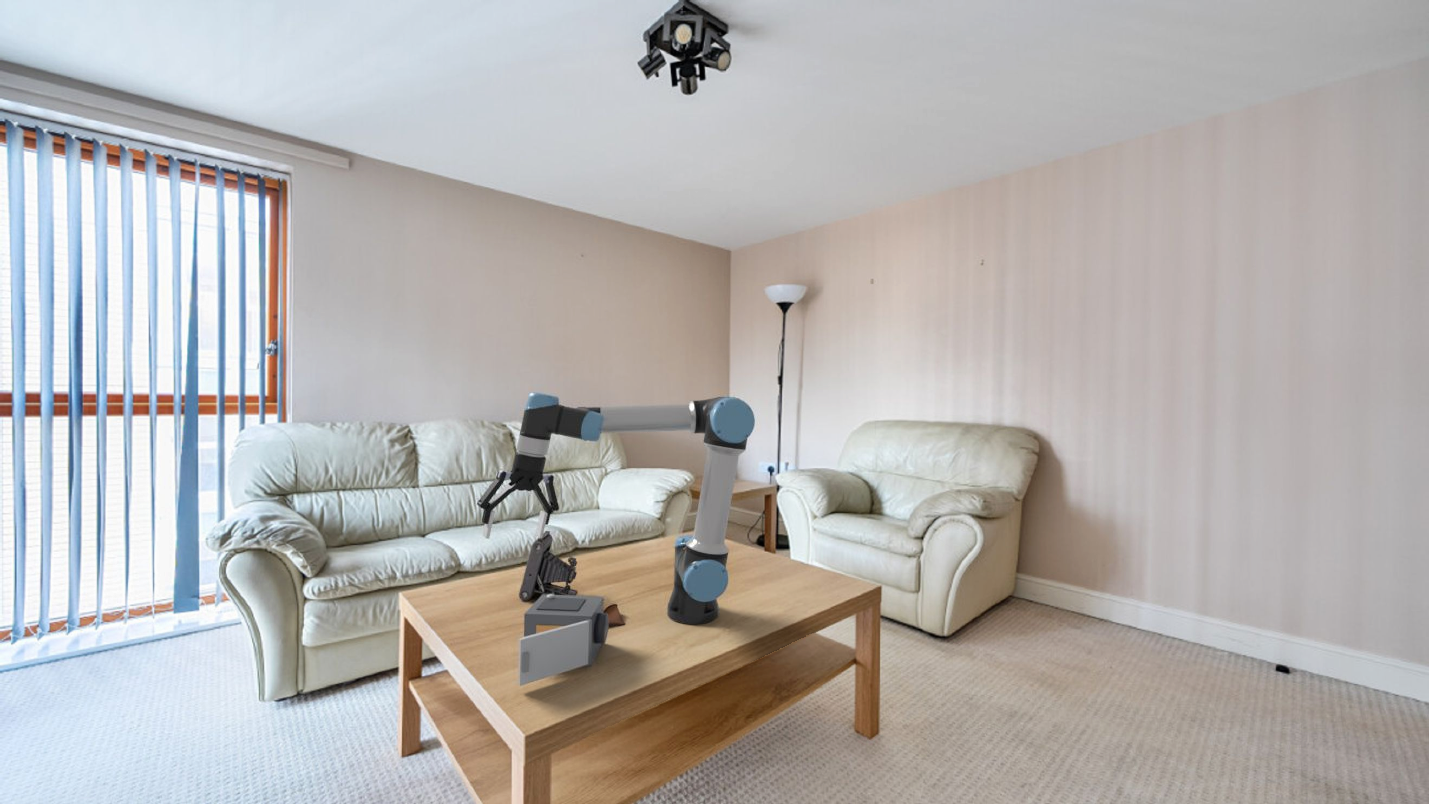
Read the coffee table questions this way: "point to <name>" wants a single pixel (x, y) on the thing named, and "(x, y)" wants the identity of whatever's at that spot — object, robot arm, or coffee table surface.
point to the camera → (546, 571)
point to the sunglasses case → (613, 615)
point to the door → (554, 651)
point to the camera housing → (568, 616)
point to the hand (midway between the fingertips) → (513, 536)
